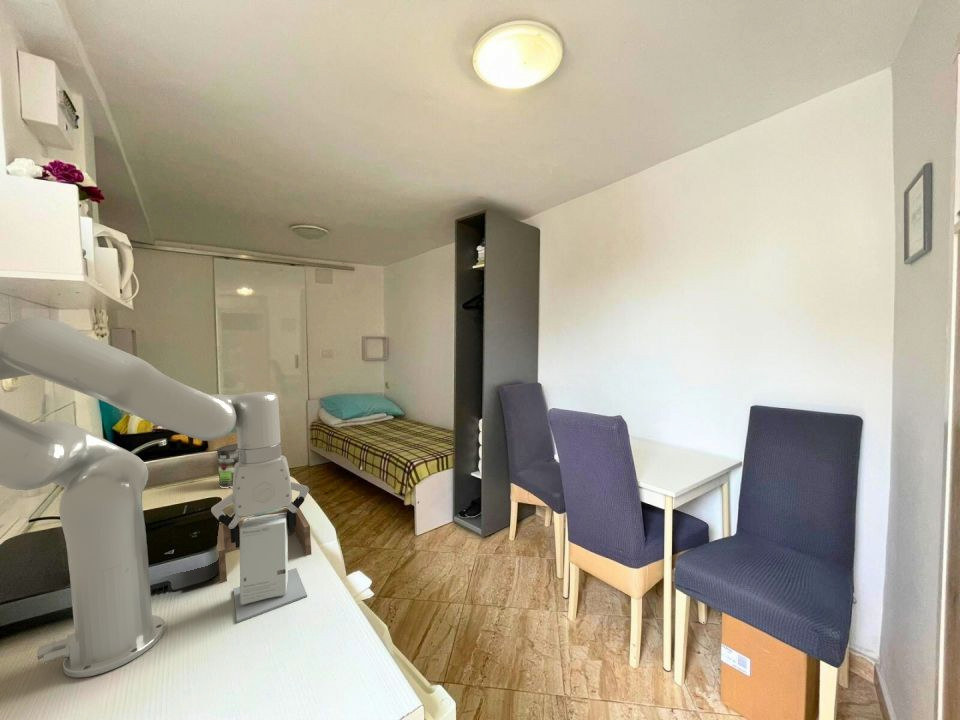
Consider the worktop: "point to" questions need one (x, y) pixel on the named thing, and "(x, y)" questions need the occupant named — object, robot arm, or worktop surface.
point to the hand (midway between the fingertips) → (265, 537)
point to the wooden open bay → (224, 531)
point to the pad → (259, 607)
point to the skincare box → (263, 557)
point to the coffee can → (226, 465)
